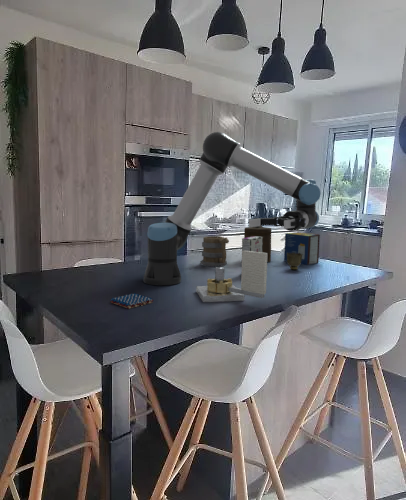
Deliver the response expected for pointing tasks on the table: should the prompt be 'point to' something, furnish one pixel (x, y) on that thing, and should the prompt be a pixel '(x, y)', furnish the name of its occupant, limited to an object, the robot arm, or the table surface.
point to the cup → (294, 260)
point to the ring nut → (246, 277)
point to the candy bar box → (252, 244)
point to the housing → (216, 297)
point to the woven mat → (131, 300)
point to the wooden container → (261, 233)
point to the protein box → (303, 246)
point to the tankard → (214, 251)
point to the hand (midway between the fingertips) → (266, 223)
